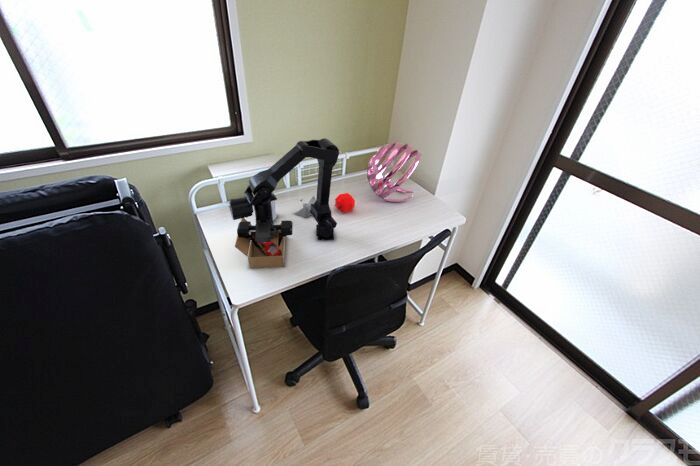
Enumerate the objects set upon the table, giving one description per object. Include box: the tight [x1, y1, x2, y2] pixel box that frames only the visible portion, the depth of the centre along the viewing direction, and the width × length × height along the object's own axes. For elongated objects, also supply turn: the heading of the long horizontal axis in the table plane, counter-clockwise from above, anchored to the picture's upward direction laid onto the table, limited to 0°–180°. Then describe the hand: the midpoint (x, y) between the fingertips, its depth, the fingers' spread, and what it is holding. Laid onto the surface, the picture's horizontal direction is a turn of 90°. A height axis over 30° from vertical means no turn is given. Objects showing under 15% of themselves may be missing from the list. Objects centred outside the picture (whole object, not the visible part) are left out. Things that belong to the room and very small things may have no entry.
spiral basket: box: [366, 141, 422, 203], centre depth 145 cm, size 28×28×27 cm
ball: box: [334, 192, 356, 214], centre depth 137 cm, size 8×8×8 cm
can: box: [271, 200, 277, 221], centre depth 127 cm, size 8×8×12 cm
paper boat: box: [294, 194, 316, 219], centre depth 135 cm, size 12×6×9 cm
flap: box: [234, 217, 253, 257], centre depth 109 cm, size 17×6×1 cm
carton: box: [247, 230, 286, 269], centre depth 113 cm, size 17×12×5 cm
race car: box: [258, 240, 282, 256], centre depth 113 cm, size 13×5×4 cm, turn 39°
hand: (268, 246), depth 113 cm, fingers open, 7 cm apart
